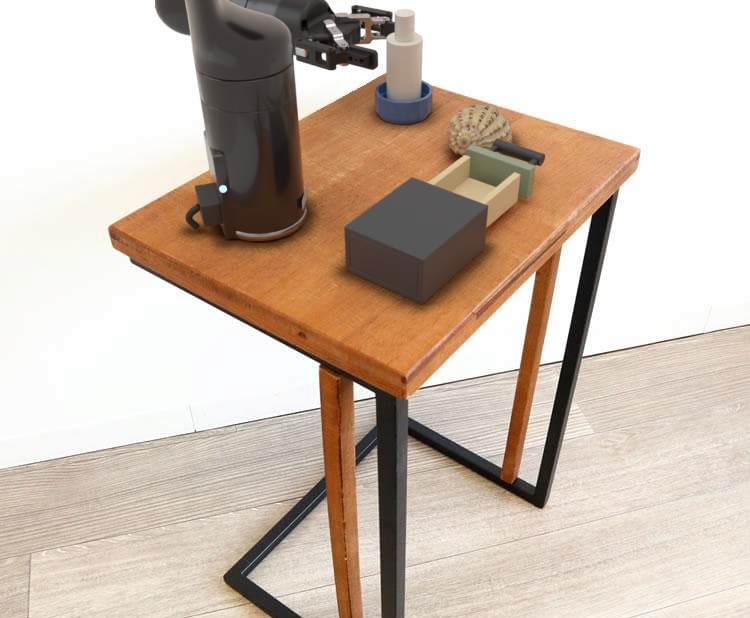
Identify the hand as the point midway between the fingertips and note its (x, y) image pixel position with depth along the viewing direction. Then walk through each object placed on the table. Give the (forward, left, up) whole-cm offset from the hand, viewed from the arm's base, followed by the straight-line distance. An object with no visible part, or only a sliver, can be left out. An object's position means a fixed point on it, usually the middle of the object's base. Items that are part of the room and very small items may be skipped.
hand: (395, 48), depth 103 cm
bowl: (+1, -1, -8) cm, 8 cm away
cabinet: (-8, -32, -8) cm, 34 cm away
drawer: (+2, -24, -7) cm, 25 cm away
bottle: (+1, -1, -8) cm, 8 cm away
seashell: (+7, -12, -8) cm, 16 cm away
